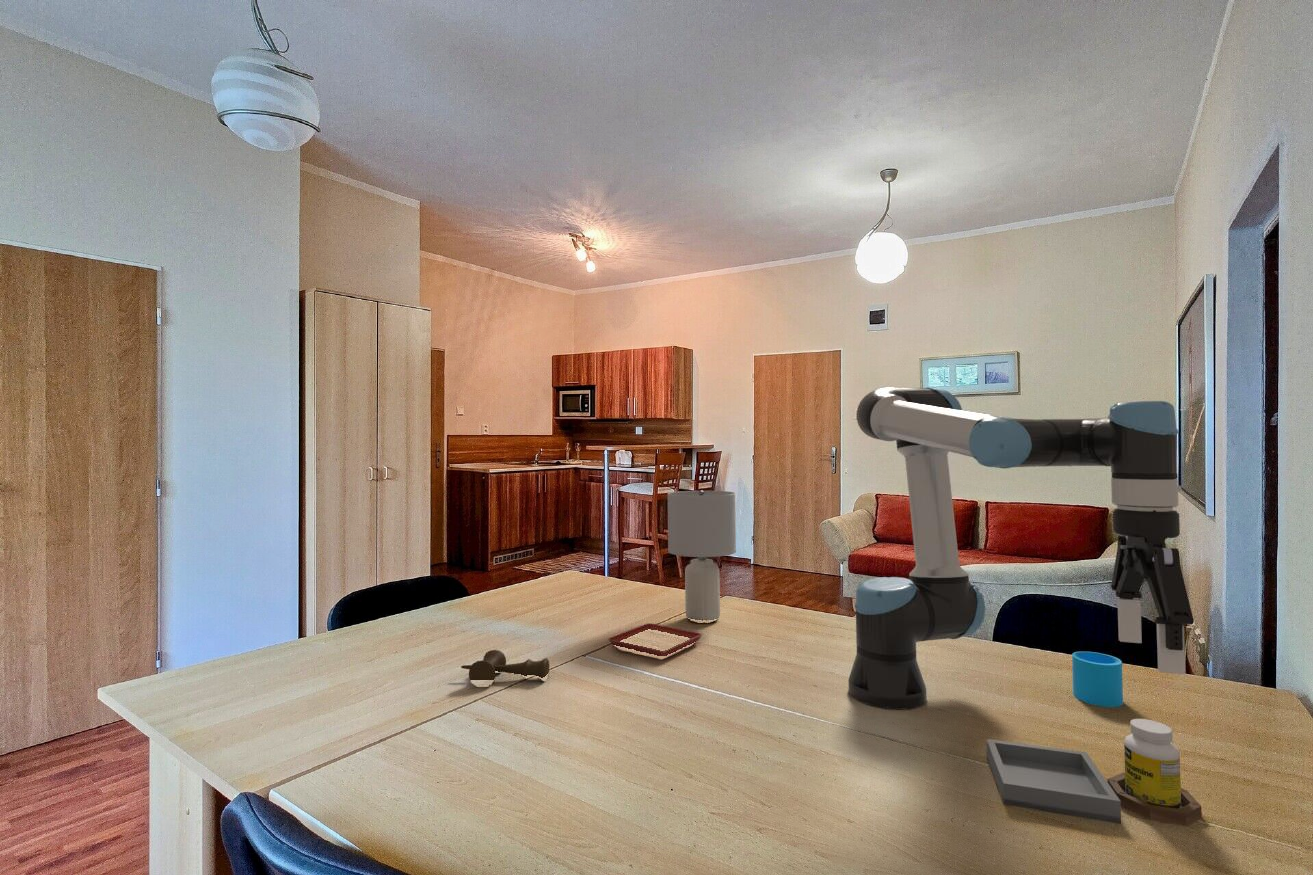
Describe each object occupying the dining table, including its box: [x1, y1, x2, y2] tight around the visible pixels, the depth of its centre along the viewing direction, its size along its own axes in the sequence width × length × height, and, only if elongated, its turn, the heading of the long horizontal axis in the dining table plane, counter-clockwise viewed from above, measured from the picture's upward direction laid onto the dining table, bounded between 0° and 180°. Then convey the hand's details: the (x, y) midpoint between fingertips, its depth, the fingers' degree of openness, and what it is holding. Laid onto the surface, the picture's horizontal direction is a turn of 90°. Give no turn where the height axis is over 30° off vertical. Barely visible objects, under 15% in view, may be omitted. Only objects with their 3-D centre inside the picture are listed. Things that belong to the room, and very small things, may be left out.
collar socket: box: [1106, 772, 1203, 827], centre depth 87 cm, size 10×10×2 cm
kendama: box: [460, 649, 551, 681], centre depth 136 cm, size 6×10×20 cm
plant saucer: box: [607, 623, 703, 656], centre depth 158 cm, size 18×18×3 cm
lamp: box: [667, 489, 737, 621], centre depth 183 cm, size 20×20×39 cm
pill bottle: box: [1123, 718, 1182, 809], centre depth 87 cm, size 6×6×11 cm
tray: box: [985, 738, 1122, 825], centre depth 91 cm, size 14×14×3 cm
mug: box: [1071, 651, 1124, 708], centre depth 124 cm, size 12×8×8 cm
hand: (1149, 656), depth 87 cm, fingers open, 13 cm apart
